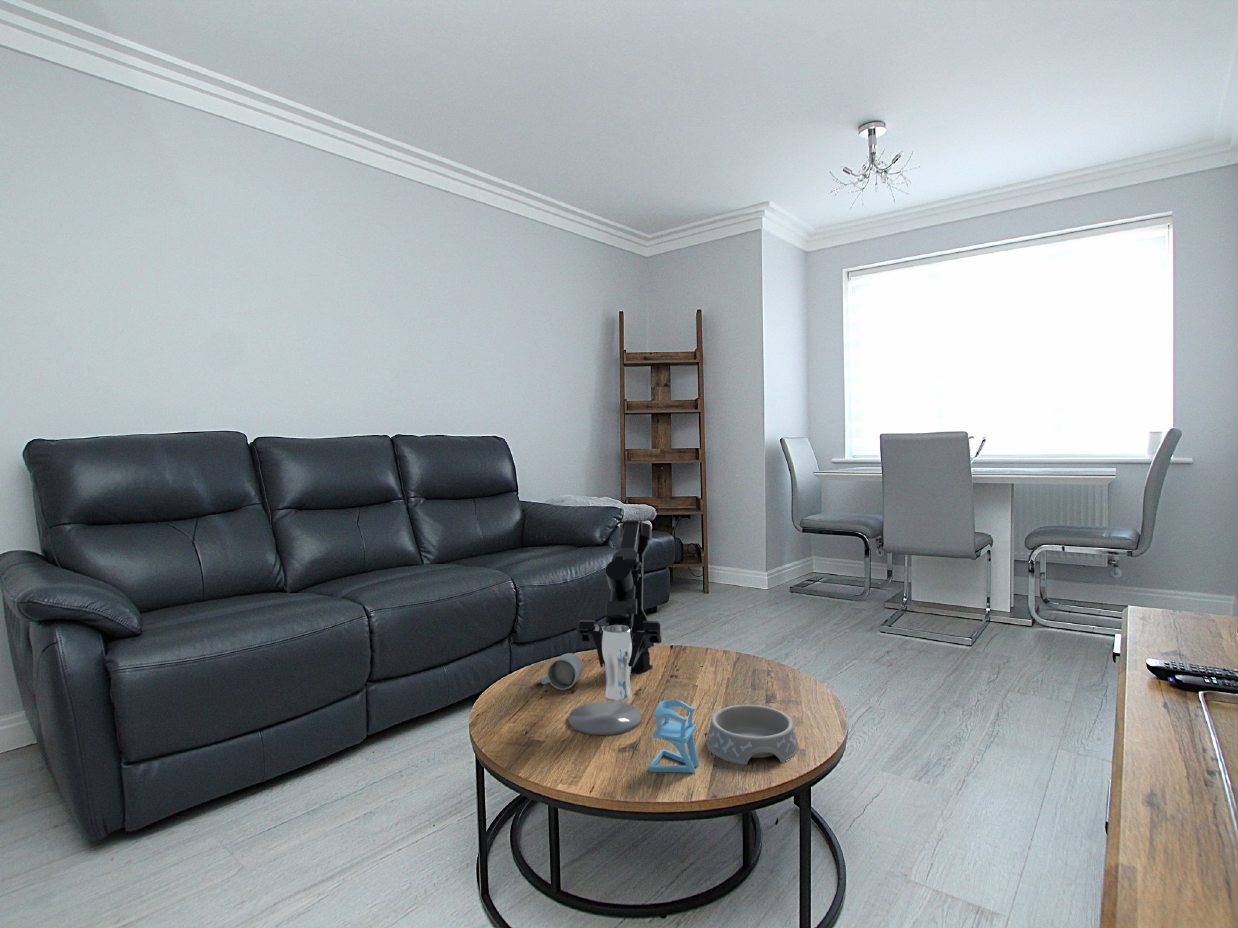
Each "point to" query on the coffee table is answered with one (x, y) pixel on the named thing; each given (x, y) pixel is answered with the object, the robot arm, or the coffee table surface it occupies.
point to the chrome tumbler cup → (617, 660)
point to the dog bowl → (751, 734)
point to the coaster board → (605, 718)
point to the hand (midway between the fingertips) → (616, 666)
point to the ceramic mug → (564, 671)
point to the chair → (675, 737)
